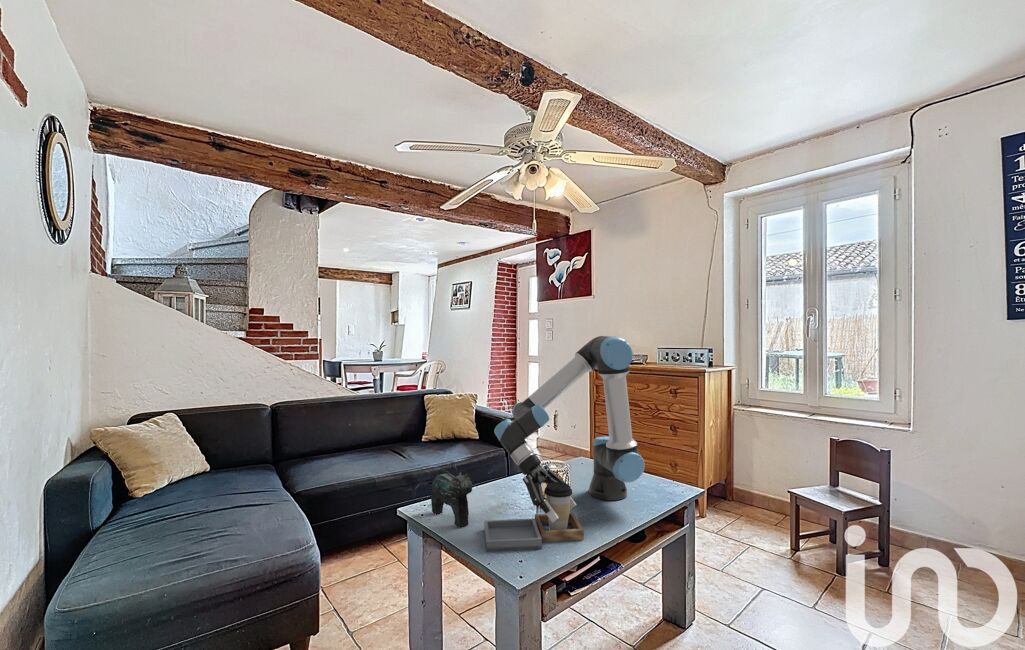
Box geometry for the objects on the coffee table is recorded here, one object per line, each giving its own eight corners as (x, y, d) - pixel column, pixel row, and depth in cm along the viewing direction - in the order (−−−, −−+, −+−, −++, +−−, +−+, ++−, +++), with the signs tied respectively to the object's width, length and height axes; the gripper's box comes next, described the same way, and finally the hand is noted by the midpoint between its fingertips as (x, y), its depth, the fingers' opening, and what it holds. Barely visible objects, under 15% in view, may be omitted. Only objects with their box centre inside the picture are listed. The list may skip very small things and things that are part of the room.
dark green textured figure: (473, 526, 157) (474, 467, 157) (458, 532, 153) (458, 472, 153) (440, 508, 172) (441, 455, 171) (426, 513, 167) (426, 458, 167)
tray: (534, 527, 156) (534, 518, 156) (541, 548, 141) (541, 539, 141) (484, 529, 154) (484, 520, 154) (486, 551, 140) (486, 541, 140)
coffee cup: (549, 539, 148) (550, 492, 148) (540, 526, 157) (540, 482, 157) (577, 535, 150) (577, 489, 150) (565, 523, 159) (565, 480, 159)
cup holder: (573, 521, 161) (573, 512, 161) (583, 539, 147) (583, 530, 147) (534, 522, 160) (534, 514, 160) (541, 541, 146) (541, 532, 146)
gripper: (537, 457, 172) (574, 507, 164) (499, 475, 152) (539, 533, 144) (549, 445, 169) (587, 495, 161) (513, 462, 149) (554, 520, 141)
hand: (565, 513), depth 152 cm, fingers open, 12 cm apart
